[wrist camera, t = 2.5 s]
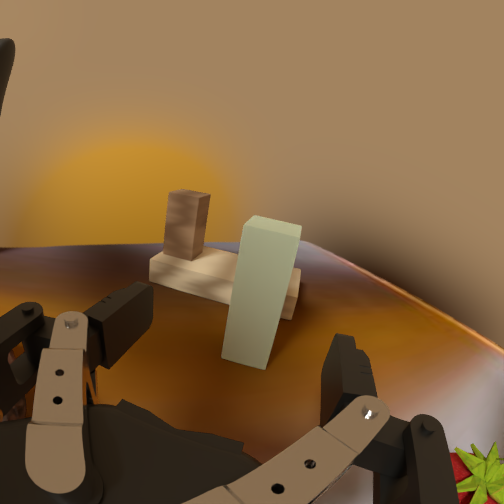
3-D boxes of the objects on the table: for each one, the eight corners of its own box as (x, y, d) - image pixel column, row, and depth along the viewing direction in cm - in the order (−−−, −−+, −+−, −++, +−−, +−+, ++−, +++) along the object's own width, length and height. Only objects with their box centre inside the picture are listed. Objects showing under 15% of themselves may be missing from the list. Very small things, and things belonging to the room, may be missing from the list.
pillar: (220, 358, 24) (243, 224, 20) (232, 334, 28) (254, 215, 24) (265, 370, 23) (300, 237, 20) (271, 344, 27) (301, 225, 23)
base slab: (149, 281, 34) (155, 193, 31) (178, 258, 43) (186, 186, 39) (291, 320, 32) (315, 227, 29) (295, 288, 41) (314, 213, 37)
